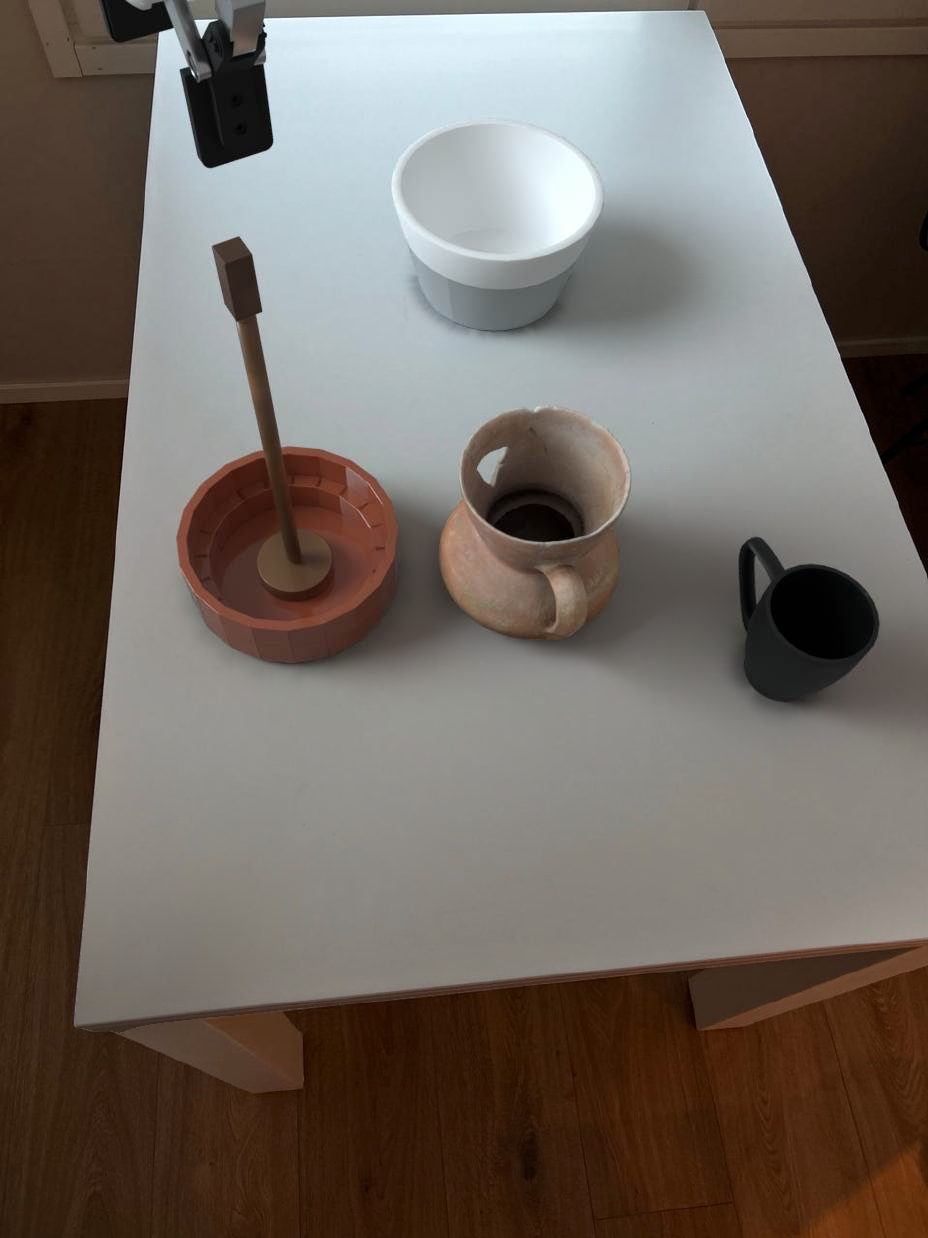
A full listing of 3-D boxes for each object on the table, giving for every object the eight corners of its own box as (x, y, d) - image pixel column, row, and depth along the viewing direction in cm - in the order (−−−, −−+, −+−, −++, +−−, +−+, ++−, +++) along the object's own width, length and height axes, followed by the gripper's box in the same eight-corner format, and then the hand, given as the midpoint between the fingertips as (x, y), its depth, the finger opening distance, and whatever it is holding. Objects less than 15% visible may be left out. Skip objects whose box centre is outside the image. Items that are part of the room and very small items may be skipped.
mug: (762, 574, 81) (802, 508, 73) (850, 692, 76) (904, 636, 68) (680, 610, 79) (712, 547, 70) (765, 734, 74) (810, 682, 66)
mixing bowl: (247, 702, 73) (235, 667, 68) (160, 542, 80) (142, 499, 74) (435, 606, 78) (437, 567, 73) (338, 462, 84) (333, 417, 79)
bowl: (621, 316, 94) (644, 225, 85) (443, 375, 90) (446, 285, 80) (531, 194, 102) (543, 97, 93) (363, 242, 98) (357, 146, 88)
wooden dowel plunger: (279, 614, 76) (202, 306, 48) (246, 558, 79) (154, 233, 50) (347, 581, 78) (310, 265, 50) (312, 527, 80) (258, 196, 52)
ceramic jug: (422, 502, 83) (423, 389, 70) (585, 482, 85) (615, 368, 72) (460, 692, 74) (469, 602, 62) (640, 665, 76) (684, 572, 64)
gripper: (-152, -568, 30) (35, 10, 44) (50, -359, 23) (190, 239, 38) (84, -585, 32) (187, -29, 47) (332, -399, 25) (359, 180, 40)
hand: (188, 91), depth 42 cm, fingers open, 9 cm apart
